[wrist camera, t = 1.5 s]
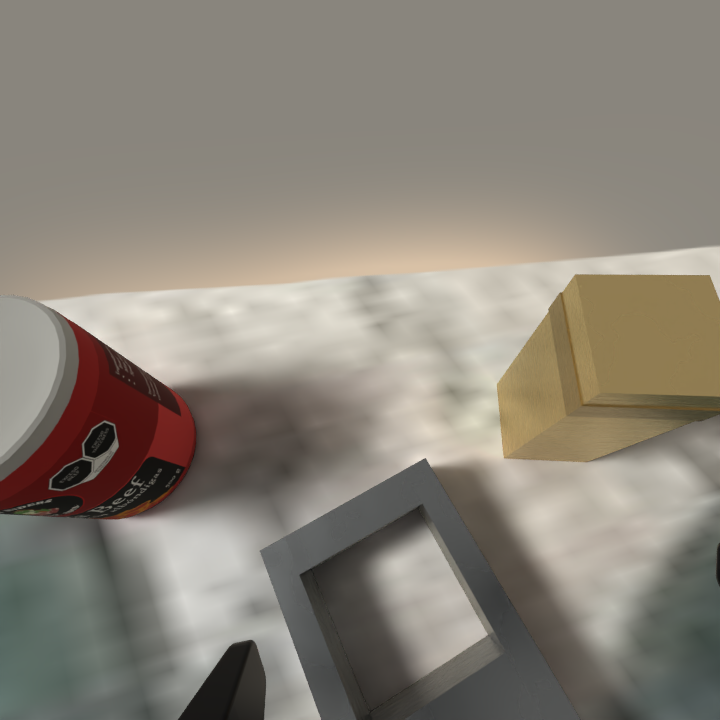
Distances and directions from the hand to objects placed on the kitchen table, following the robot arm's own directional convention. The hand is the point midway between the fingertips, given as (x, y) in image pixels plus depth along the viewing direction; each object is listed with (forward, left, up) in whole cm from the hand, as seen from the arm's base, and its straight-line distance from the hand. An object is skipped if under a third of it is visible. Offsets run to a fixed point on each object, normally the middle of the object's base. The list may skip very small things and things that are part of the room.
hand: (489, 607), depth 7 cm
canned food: (+13, +12, -14) cm, 23 cm away
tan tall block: (+3, -10, -14) cm, 17 cm away
